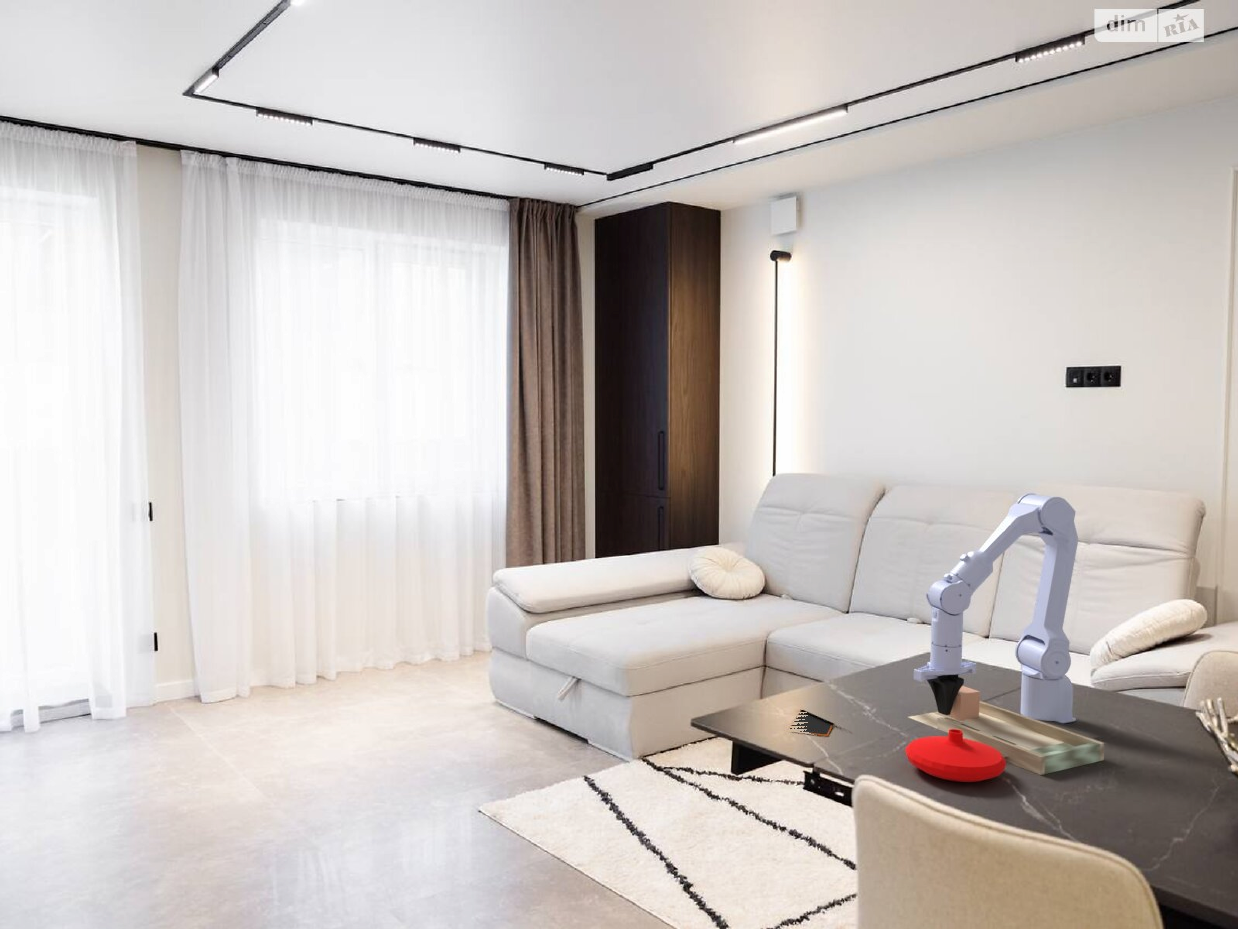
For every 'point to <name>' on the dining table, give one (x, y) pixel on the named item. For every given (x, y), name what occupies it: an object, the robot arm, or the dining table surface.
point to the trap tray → (1022, 739)
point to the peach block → (966, 704)
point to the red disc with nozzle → (955, 757)
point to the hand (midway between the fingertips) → (944, 713)
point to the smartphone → (814, 724)
